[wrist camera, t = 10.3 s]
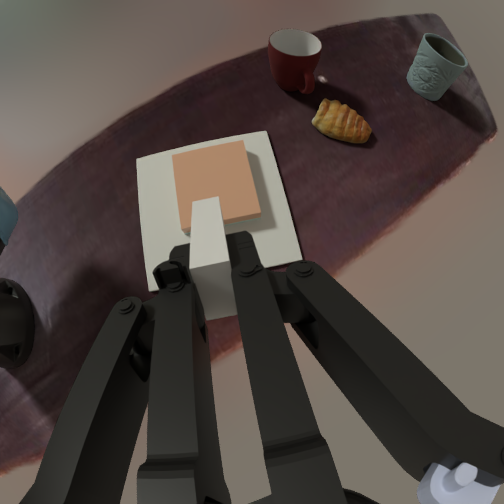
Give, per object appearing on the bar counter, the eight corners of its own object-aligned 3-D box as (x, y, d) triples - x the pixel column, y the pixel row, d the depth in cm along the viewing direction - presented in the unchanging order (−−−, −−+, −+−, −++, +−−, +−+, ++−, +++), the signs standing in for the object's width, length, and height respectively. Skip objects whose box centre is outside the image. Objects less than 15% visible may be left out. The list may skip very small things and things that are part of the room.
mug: (329, 102, 44) (343, 60, 34) (290, 115, 43) (297, 71, 33) (295, 65, 46) (302, 25, 36) (257, 77, 45) (258, 34, 35)
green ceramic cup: (407, 94, 45) (431, 53, 33) (399, 64, 47) (418, 26, 36) (447, 109, 45) (474, 74, 33) (437, 78, 47) (458, 44, 35)
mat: (150, 291, 37) (149, 291, 36) (137, 161, 41) (136, 159, 40) (301, 260, 38) (302, 259, 37) (266, 133, 42) (266, 130, 41)
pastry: (371, 125, 43) (378, 112, 39) (363, 154, 42) (371, 142, 38) (319, 104, 44) (324, 89, 40) (307, 131, 43) (311, 116, 39)
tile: (181, 229, 35) (171, 155, 38) (185, 234, 38) (175, 163, 40) (261, 212, 36) (243, 139, 38) (260, 218, 38) (243, 149, 41)
